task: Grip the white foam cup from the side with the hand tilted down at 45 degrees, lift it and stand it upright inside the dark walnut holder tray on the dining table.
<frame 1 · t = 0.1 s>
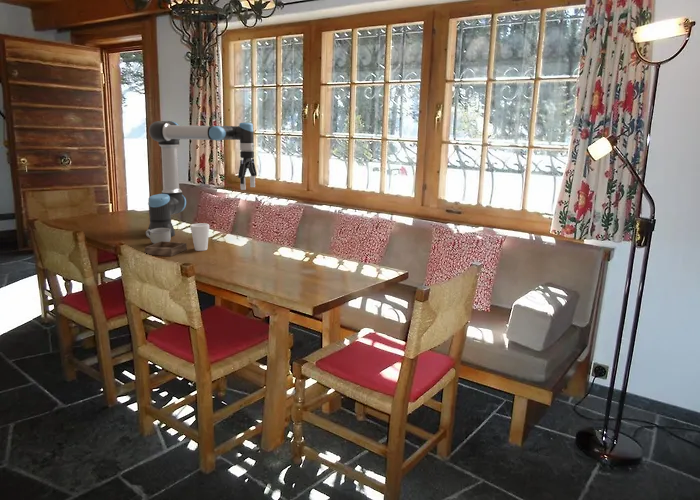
hand: (248, 188, 308), 28 cm above the table, tool pointing down, fingers open, 13 cm apart
holder: (166, 251, 274), on the table
teacup: (158, 244, 291), on the table
foam cup: (201, 249, 280), on the table
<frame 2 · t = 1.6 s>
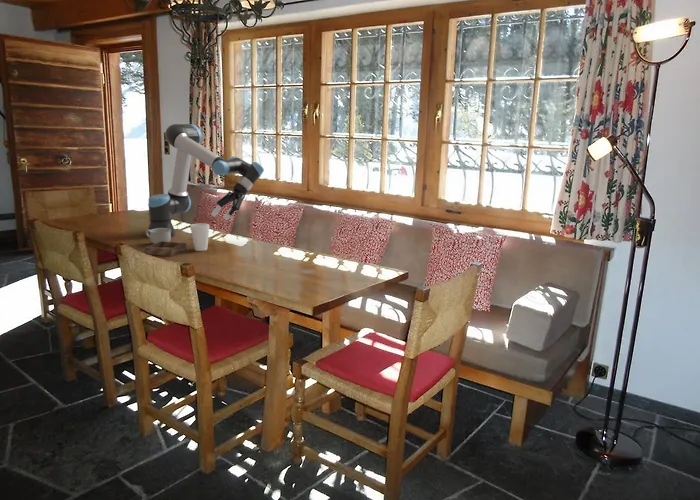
hand: (218, 217, 284), 16 cm above the table, tool tilted 45°, fingers open, 13 cm apart
nothing on the table moved.
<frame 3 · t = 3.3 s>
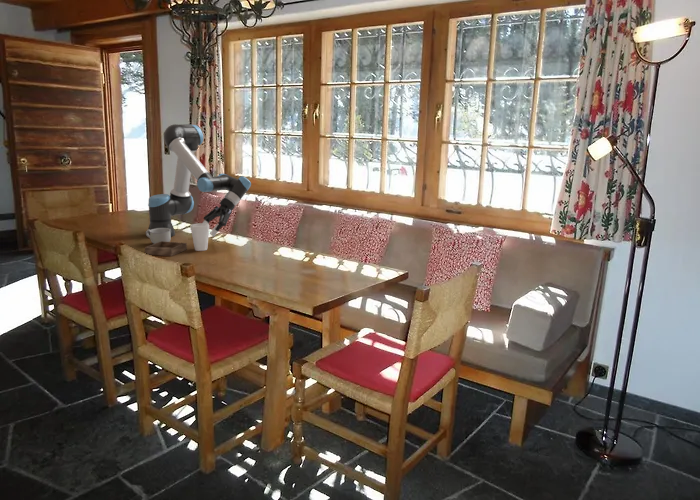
hand: (205, 233, 279), 9 cm above the table, tool tilted 45°, fingers open, 13 cm apart
nothing on the table moved.
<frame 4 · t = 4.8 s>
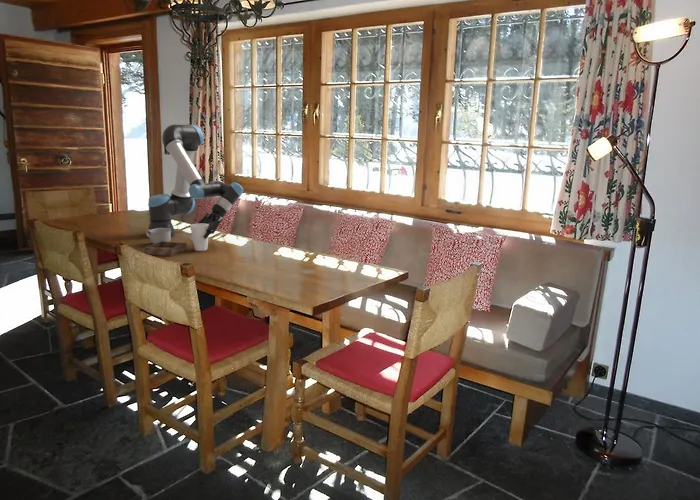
hand: (195, 241, 277), 5 cm above the table, tool tilted 45°, fingers closed on foam cup, 9 cm apart
foam cup: (201, 249, 280), on the table, touching gripper
everything else where it was.
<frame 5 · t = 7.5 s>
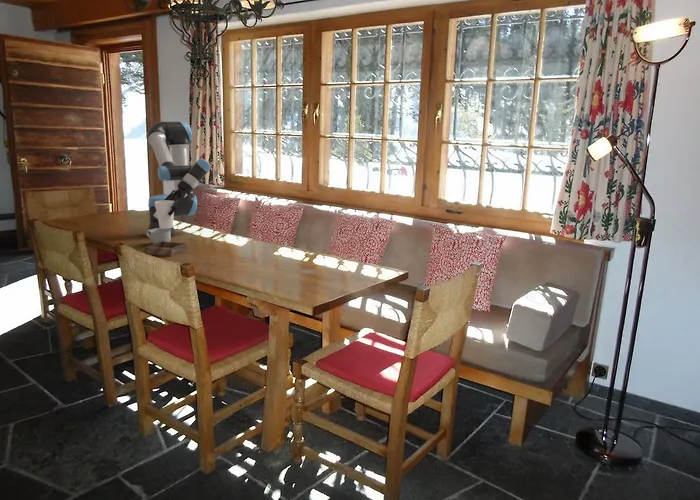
hand: (159, 218, 268), 18 cm above the table, tool tilted 45°, fingers closed on foam cup, 9 cm apart
foam cup: (166, 227, 271), point 12 cm above the table, touching gripper
everything else where it was.
when the fingers open (7 cm above the table, at t = 10.1 s): foam cup drops 1 cm, resting on holder.
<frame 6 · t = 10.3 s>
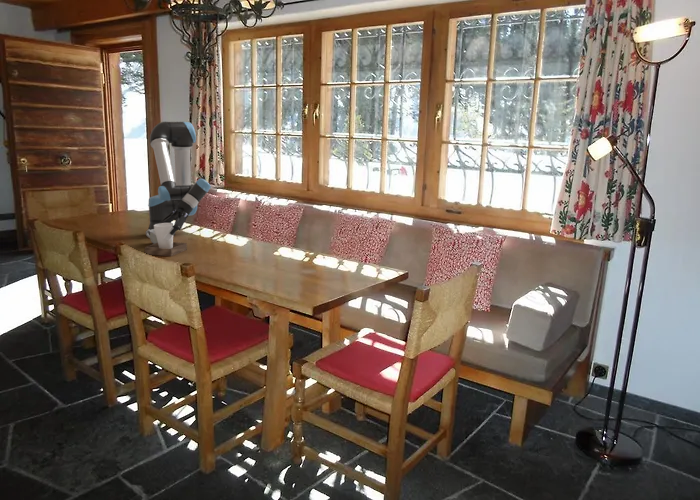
hand: (160, 237, 270), 8 cm above the table, tool tilted 45°, fingers open, 12 cm apart
foam cup: (166, 249, 274), point 1 cm above the table, touching holder
everything else where it was.
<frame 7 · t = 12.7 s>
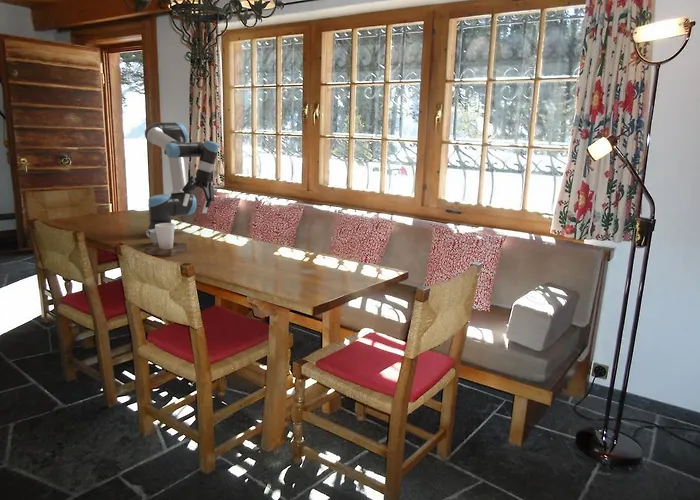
hand: (194, 209, 283), 20 cm above the table, tool tilted 15°, fingers open, 13 cm apart
nothing on the table moved.
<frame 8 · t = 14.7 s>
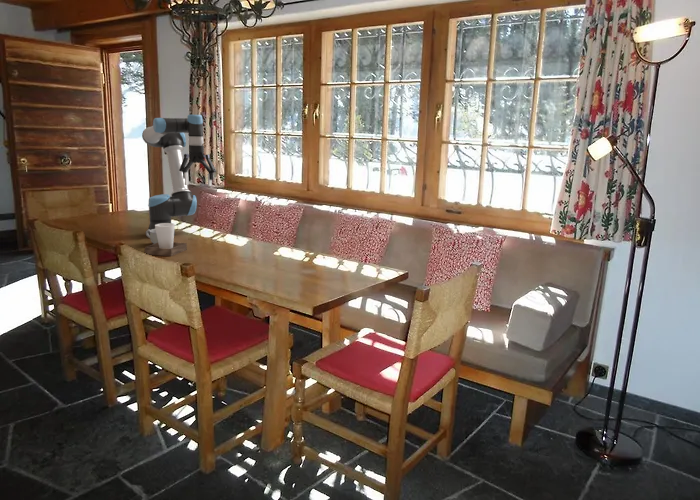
hand: (198, 185, 287), 32 cm above the table, tool pointing down, fingers open, 13 cm apart
nothing on the table moved.
at the end: foam cup inside the target area on the holder (0.1 cm from its centre), point 0.8 cm above the holder's base; foam cup tilted 0°; the gripper is holding nothing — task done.
